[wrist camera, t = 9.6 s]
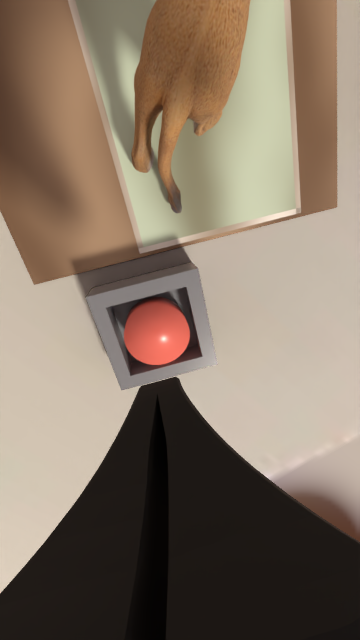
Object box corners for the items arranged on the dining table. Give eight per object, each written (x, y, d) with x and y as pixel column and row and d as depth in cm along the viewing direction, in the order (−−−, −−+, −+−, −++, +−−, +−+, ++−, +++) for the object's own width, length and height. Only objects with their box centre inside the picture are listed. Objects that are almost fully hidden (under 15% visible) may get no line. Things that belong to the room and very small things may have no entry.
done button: (178, 289, 15) (181, 297, 14) (191, 344, 17) (195, 355, 15) (117, 306, 15) (114, 314, 14) (135, 358, 17) (135, 371, 15)
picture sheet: (334, -217, 10) (336, -220, 10) (336, 207, 16) (337, 207, 16) (-148, -118, 10) (-150, -120, 9) (34, 284, 15) (34, 284, 15)
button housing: (191, 262, 16) (198, 268, 14) (210, 349, 18) (217, 364, 16) (92, 287, 16) (85, 297, 14) (123, 372, 18) (121, 390, 16)
